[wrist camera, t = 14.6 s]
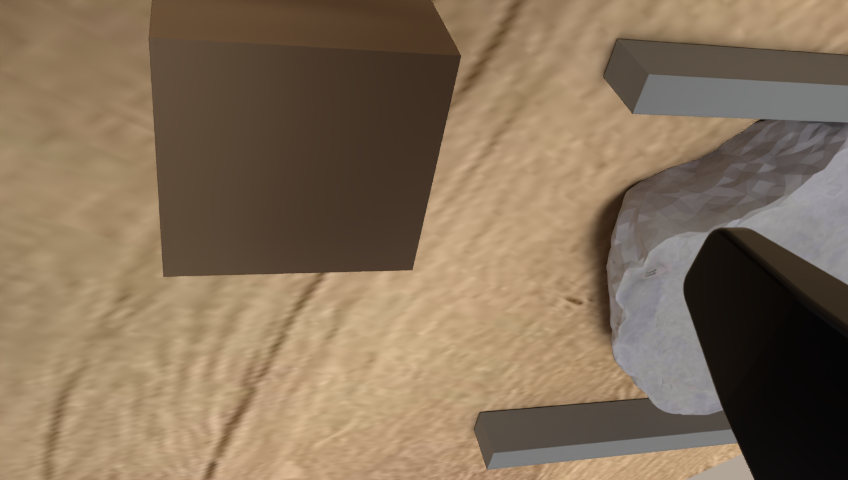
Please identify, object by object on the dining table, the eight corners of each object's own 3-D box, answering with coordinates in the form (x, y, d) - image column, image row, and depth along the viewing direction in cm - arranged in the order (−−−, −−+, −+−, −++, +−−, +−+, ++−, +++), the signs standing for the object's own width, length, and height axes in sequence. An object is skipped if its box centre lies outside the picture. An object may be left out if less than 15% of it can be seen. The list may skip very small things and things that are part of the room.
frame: (474, 429, 33) (486, 469, 31) (617, 38, 21) (648, 74, 20) (771, 402, 37) (795, 436, 36) (1026, 68, 25) (1076, 99, 24)
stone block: (621, 347, 35) (854, 285, 32) (646, 441, 31) (908, 380, 28) (544, 166, 27) (843, 64, 24) (566, 264, 23) (916, 158, 21)
